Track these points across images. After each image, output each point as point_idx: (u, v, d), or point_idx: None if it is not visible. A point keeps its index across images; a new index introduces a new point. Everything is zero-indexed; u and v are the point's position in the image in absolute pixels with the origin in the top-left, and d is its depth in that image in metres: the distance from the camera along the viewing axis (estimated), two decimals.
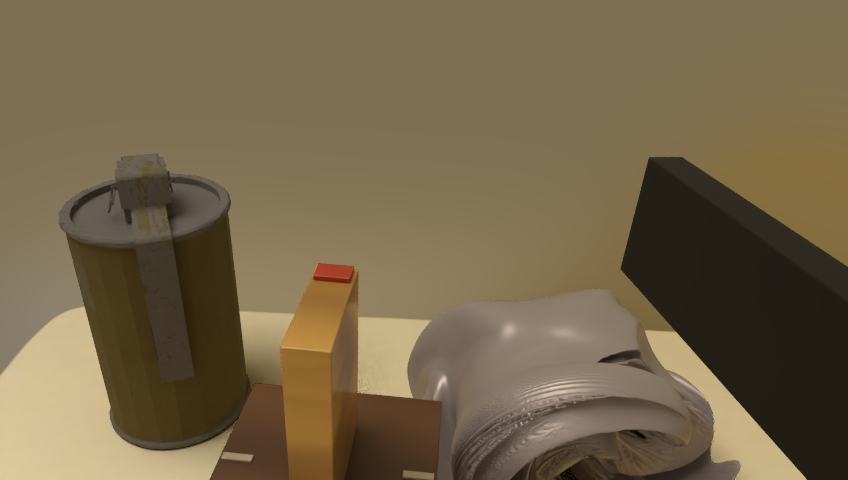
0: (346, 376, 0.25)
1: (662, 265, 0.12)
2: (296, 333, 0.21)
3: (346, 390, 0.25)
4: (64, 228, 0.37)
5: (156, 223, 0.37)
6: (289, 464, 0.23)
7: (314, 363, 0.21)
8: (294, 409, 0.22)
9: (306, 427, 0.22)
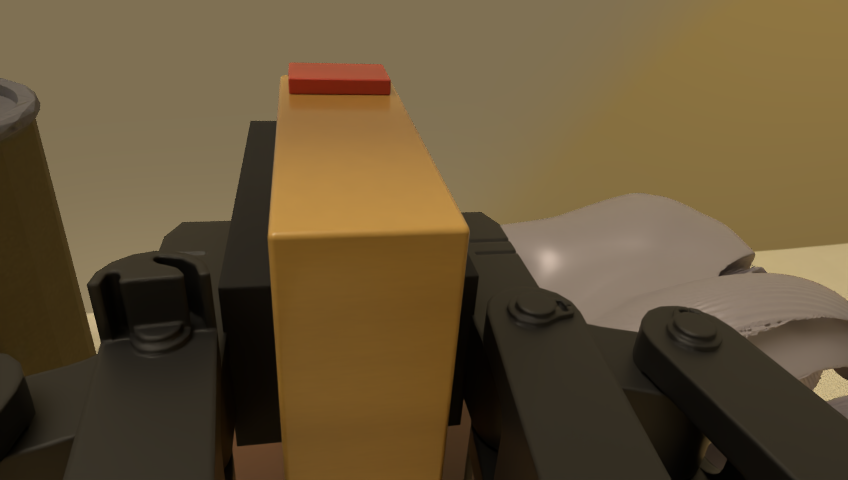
0: None
1: None
2: (309, 192, 0.06)
3: None
4: None
5: None
6: None
7: (404, 283, 0.06)
8: (321, 463, 0.07)
9: None
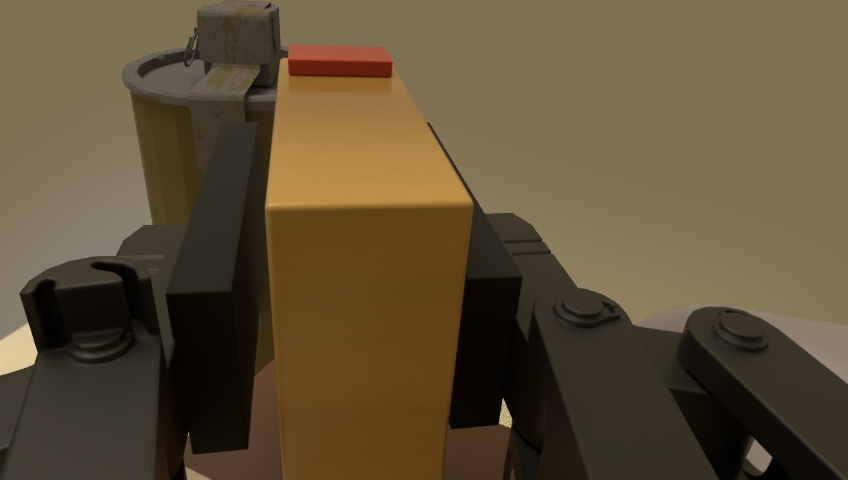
0: None
1: None
2: (308, 167, 0.06)
3: None
4: (122, 74, 0.26)
5: (234, 81, 0.25)
6: None
7: (405, 259, 0.05)
8: (319, 447, 0.06)
9: None
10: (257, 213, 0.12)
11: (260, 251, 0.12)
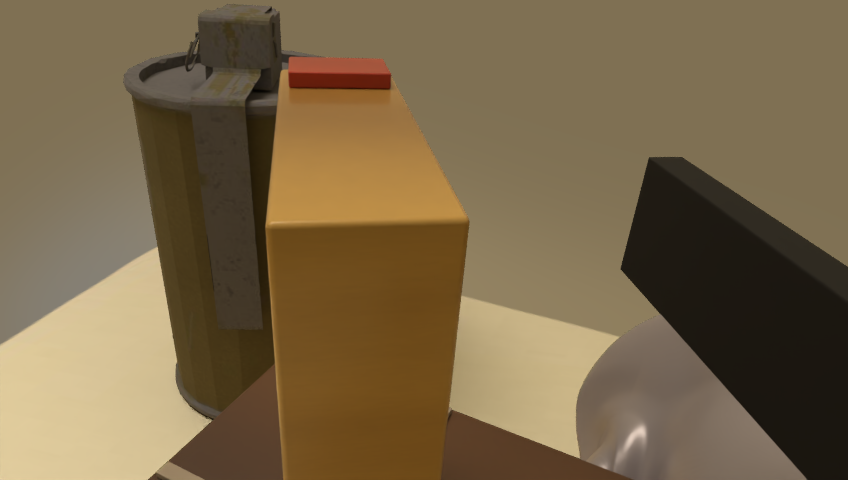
0: None
1: (662, 264, 0.12)
2: (308, 183, 0.06)
3: None
4: (124, 79, 0.26)
5: (235, 86, 0.25)
6: None
7: (403, 275, 0.06)
8: (319, 457, 0.06)
9: None
10: None
11: None
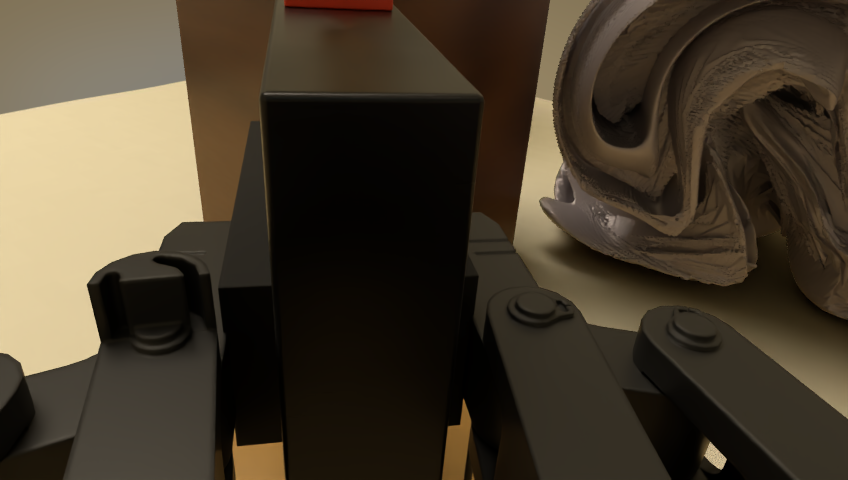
0: None
1: None
2: None
3: None
4: None
5: None
6: None
7: None
8: None
9: None
10: None
11: None
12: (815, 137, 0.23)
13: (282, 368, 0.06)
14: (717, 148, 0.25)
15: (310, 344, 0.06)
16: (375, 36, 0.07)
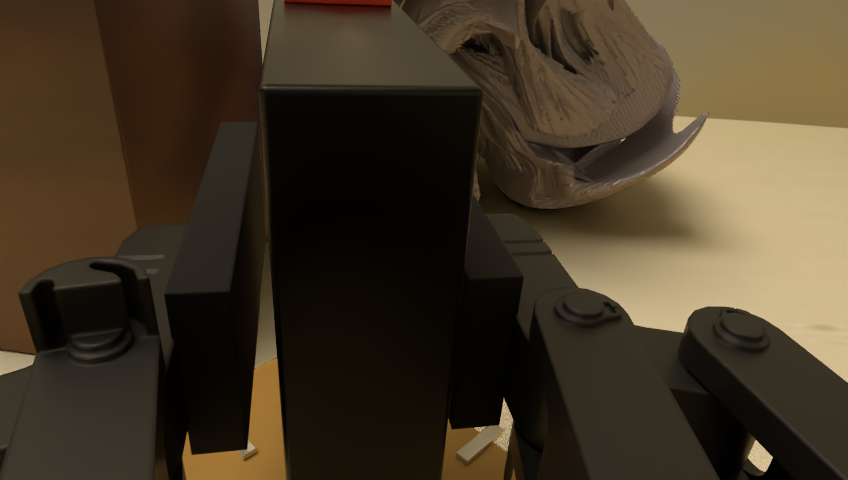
0: None
1: None
2: None
3: None
4: None
5: None
6: None
7: None
8: None
9: None
10: (256, 213, 0.12)
11: (259, 251, 0.12)
12: (495, 73, 0.28)
13: (282, 362, 0.06)
14: None
15: (310, 339, 0.06)
16: (374, 31, 0.07)
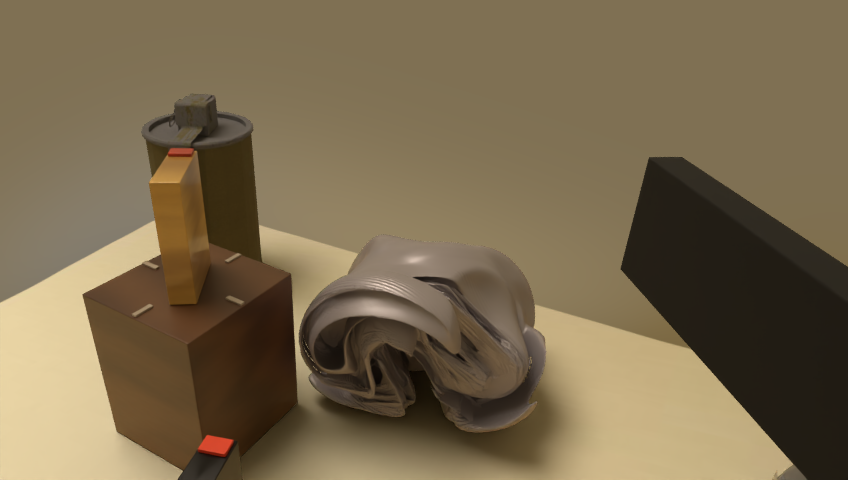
0: (195, 214, 0.41)
1: (662, 264, 0.12)
2: (158, 177, 0.37)
3: (196, 223, 0.41)
4: None
5: (189, 135, 0.56)
6: (163, 264, 0.39)
7: (170, 191, 0.37)
8: (162, 224, 0.38)
9: (170, 235, 0.38)
10: None
11: None
12: None
13: None
14: None
15: None
16: None
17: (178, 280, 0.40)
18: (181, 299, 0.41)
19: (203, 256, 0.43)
